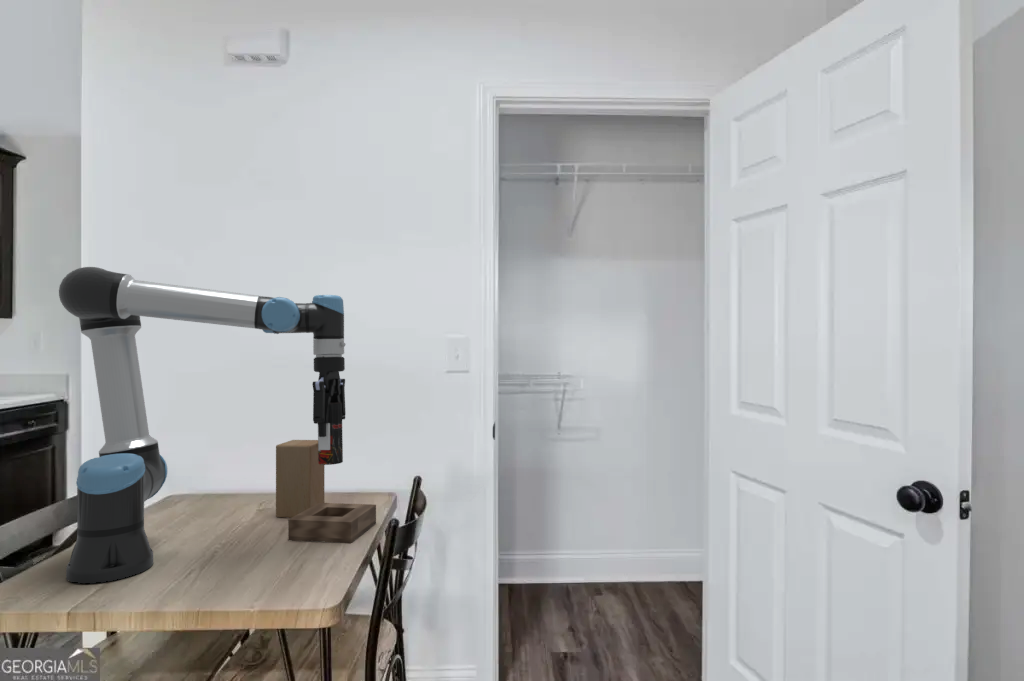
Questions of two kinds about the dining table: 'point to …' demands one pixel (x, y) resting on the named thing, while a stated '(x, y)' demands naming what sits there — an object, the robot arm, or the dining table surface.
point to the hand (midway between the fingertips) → (330, 447)
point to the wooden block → (298, 477)
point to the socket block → (332, 522)
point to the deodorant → (333, 437)
